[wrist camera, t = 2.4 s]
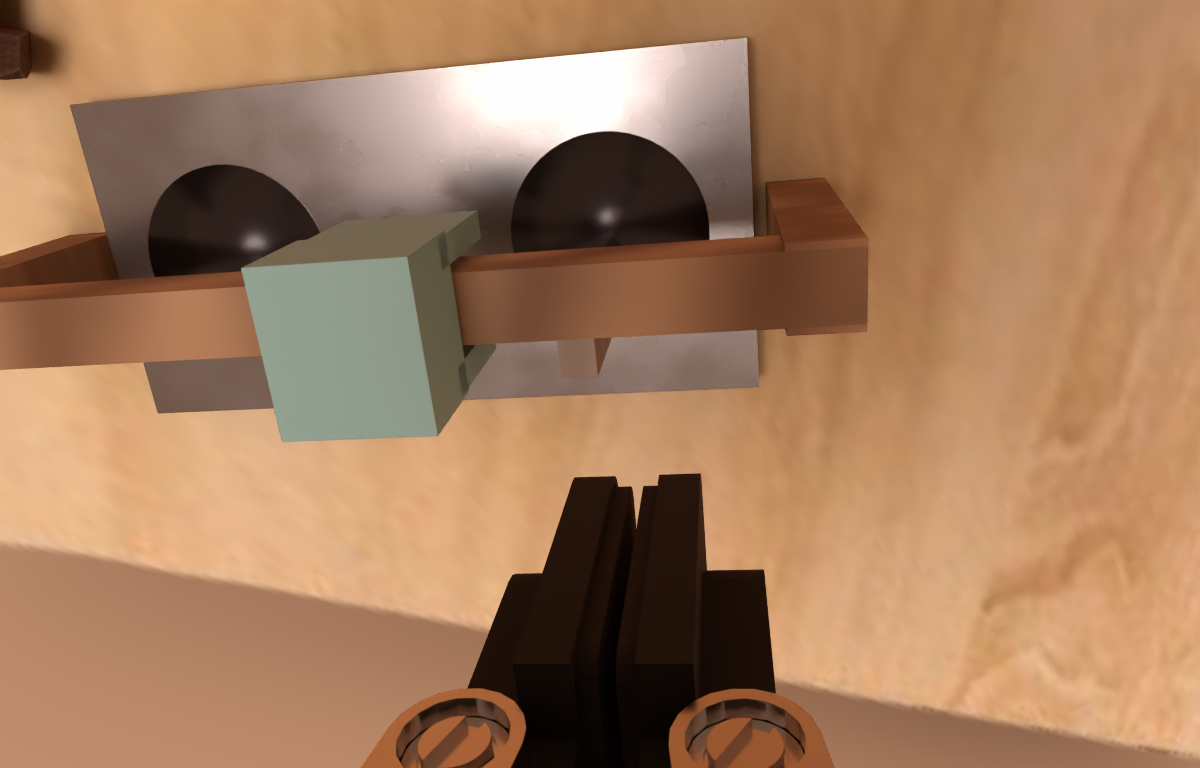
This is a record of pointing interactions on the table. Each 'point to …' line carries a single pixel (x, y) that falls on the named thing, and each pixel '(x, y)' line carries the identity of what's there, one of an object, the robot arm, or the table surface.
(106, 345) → the beam
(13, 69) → the bolt
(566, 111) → the hole plate
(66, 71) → the table surface
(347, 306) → the slider block
